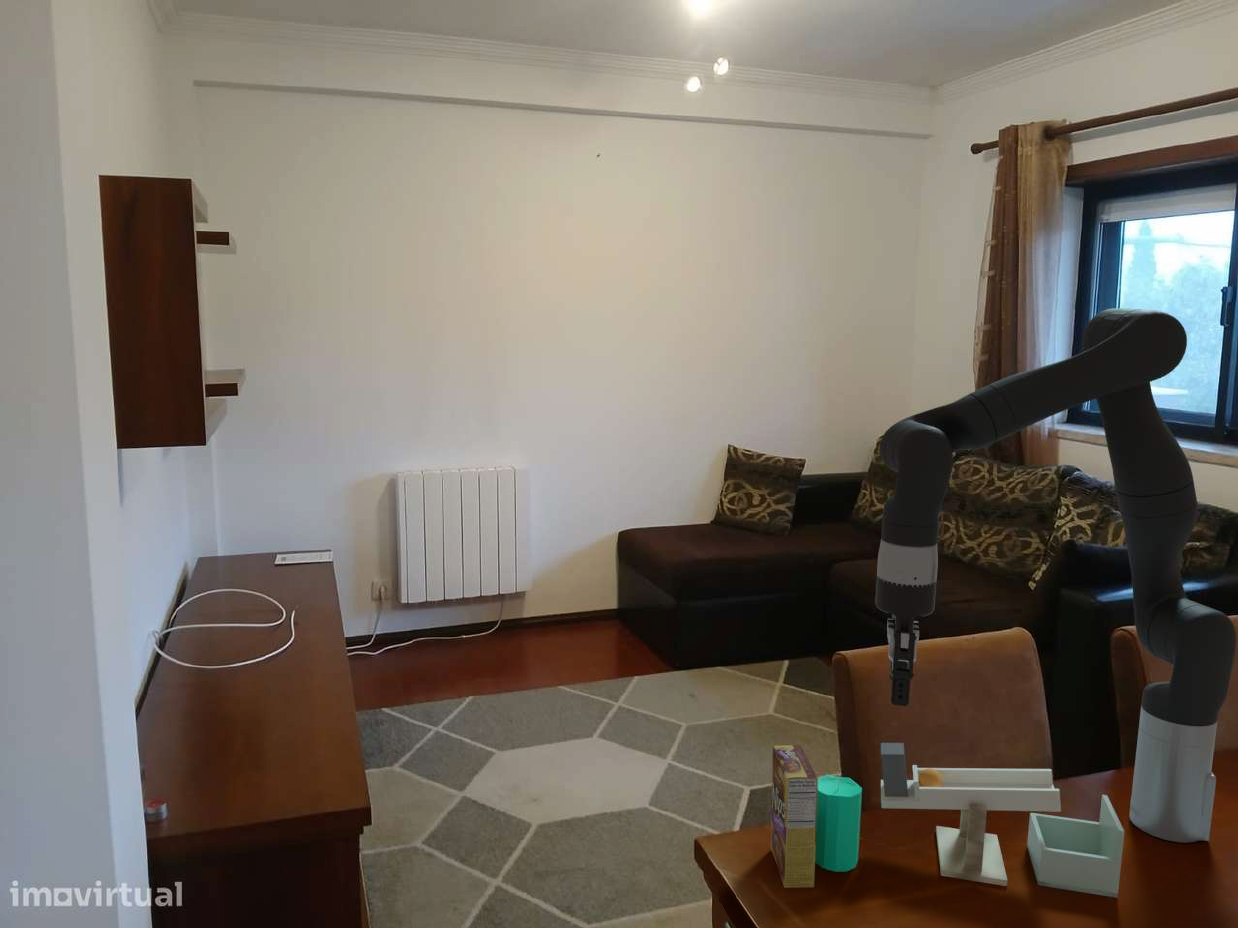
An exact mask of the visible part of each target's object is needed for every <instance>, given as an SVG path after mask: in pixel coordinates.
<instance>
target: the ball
mask: <svg viewBox="0 0 1238 928" xmlns="http://www.w3.org/2000/svg"><path fill="white" fill-rule="evenodd" d="M918 781H919V784H920V786H921V787H941V784H942V779H941V776H940V774H939V773H938V772H937V771H935V770H933V769H925V770H923V771H922V772H921V773H920V774H919V777H918Z"/></svg>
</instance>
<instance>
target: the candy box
mask: <svg viewBox="0 0 1238 928" xmlns="http://www.w3.org/2000/svg"><path fill="white" fill-rule="evenodd" d="M771 767H772V769H771V770H772V775H771V776H772V777H771V817H770V818H771V819H770V822H771V825H770V826H771V827H770V833H771V834H770V836H771V837H770V850H771V853H772V855H773V858H774V861H775V863H776V867H777V869H778V874H779V875H780V878H781V882H782V885H783V888H784V889H806V888H807V889H812V888H814V887H815V876H816V875H815V874H816V873H815V869H816V863H815V850H816V820H817V789H818V779H819V777H818V775H817V773H816V772H815V770H814V769H813V766H812V764H811V762H810V761H809V759H808V757H807V755H806V753H805V750H804V748H803V747H802V745H801V744H798V745H796V744H795V745H794V744H792V745H788V744H787V745H773V746H772V766H771Z"/></svg>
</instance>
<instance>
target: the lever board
mask: <svg viewBox="0 0 1238 928" xmlns="http://www.w3.org/2000/svg"><path fill="white" fill-rule="evenodd" d="M880 759H881V770H882V778H883V779H880V804H881V809H901V810H902V809H906V810H909V809H912V810H959V811H961V810H969V803H974V804H981V805H986V808H987V811H1000V812H1001V811H1005V812H1006V811H1008V812H1011V811H1013V812H1016V811H1017V812H1050V813H1051V812H1055V813H1056V812H1057V813H1058V812H1060V813H1061V812H1062V807H1061V790H1060V788H1055V786H1054V783H1053V770H1052V769H1051V768H989V767H988V768H985V767H983V768H975V767H974V768H971V767H970V768H967V767H961V768H960V767H955V768H954V767H953V768H952V767H950V768H949V767H918V765H917V764H913V765H912V774H913V776H912V778H913V779H907V778H908V776H907V767H906V755H905V745H904V742H880ZM925 769H933V770H935V771H937V772H938V773H939V774H940V776H941V779H942V784H941V787H921V786H920V784H919V781H918V777H919V774H920V773H921V772H922V771H923V770H925Z"/></svg>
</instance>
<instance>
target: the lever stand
mask: <svg viewBox="0 0 1238 928" xmlns="http://www.w3.org/2000/svg"><path fill="white" fill-rule="evenodd" d="M987 812H988V810H987V808H986V805H981V804H974V803H969V810H960V818H959V819H960V820H959V828H953V827H947V826H940V825H935V826H936V827H935V833H936V835H935V837H936V844H937V845H936V846H937V853H938V860H939V862H938V863H939V869H940V876H942V877H949V878H952V879H953V878H955V879H961V880H967V881H972V882H978V883H984V884H989V885H990V884H991V885H998V886H1002V887H1007V886H1008V877H1007V873H1006V869H1005V865H1004V859H1003V854H1002V852H1001V851H1002V849H1001V847H1000V842H999V839H998V835H997V834H995V833H994V834H993V833H988V832H986V824H987Z"/></svg>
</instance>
